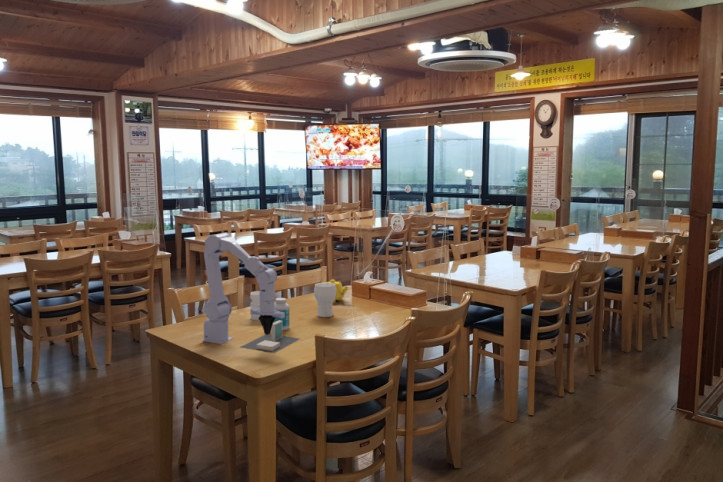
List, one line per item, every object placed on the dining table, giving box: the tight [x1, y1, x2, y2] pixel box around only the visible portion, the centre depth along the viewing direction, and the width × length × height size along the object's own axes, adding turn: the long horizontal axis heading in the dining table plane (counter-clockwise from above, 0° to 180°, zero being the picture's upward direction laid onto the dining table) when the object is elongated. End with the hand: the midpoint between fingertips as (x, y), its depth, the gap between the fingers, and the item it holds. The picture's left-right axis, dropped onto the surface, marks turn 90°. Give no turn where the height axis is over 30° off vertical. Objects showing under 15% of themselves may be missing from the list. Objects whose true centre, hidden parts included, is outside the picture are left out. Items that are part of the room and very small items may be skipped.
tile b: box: [270, 320, 283, 341], centre depth 237 cm, size 2×6×7 cm, turn 157°
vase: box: [249, 290, 260, 322], centre depth 269 cm, size 9×9×12 cm
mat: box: [240, 333, 301, 354], centre depth 233 cm, size 16×20×1 cm
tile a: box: [257, 340, 280, 351], centre depth 227 cm, size 2×6×7 cm
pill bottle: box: [273, 297, 290, 331], centre depth 252 cm, size 8×7×14 cm
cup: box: [313, 281, 336, 318], centre depth 276 cm, size 11×11×15 cm
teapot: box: [327, 279, 349, 304], centre depth 305 cm, size 14×14×11 cm
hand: (267, 333), depth 226 cm, fingers closed
